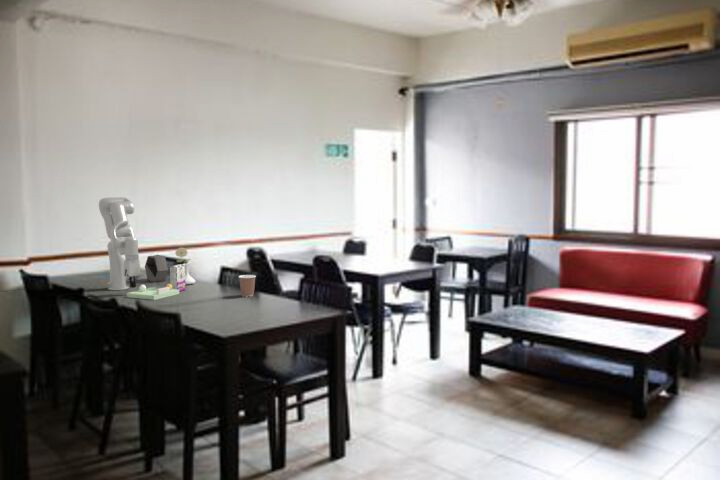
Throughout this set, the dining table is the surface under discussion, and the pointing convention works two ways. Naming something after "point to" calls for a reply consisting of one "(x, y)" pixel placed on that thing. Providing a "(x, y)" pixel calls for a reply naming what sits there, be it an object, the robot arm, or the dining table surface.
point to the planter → (156, 268)
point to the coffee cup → (247, 285)
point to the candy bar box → (178, 277)
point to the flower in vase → (182, 253)
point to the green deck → (153, 293)
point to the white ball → (142, 287)
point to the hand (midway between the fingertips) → (133, 287)
